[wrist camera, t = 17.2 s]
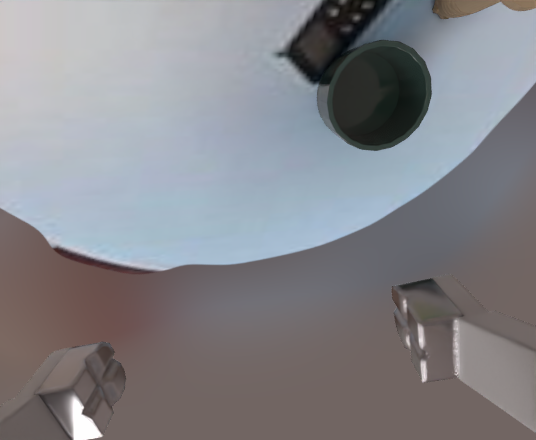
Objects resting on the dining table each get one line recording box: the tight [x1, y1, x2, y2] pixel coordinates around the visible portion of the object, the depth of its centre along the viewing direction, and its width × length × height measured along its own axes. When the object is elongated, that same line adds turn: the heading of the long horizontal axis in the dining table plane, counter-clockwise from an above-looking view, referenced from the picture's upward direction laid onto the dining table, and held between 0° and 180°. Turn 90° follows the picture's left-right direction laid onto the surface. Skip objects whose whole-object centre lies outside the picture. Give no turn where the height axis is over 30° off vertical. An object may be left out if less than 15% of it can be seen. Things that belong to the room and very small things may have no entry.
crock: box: [317, 40, 432, 151], centre depth 38 cm, size 11×11×8 cm
